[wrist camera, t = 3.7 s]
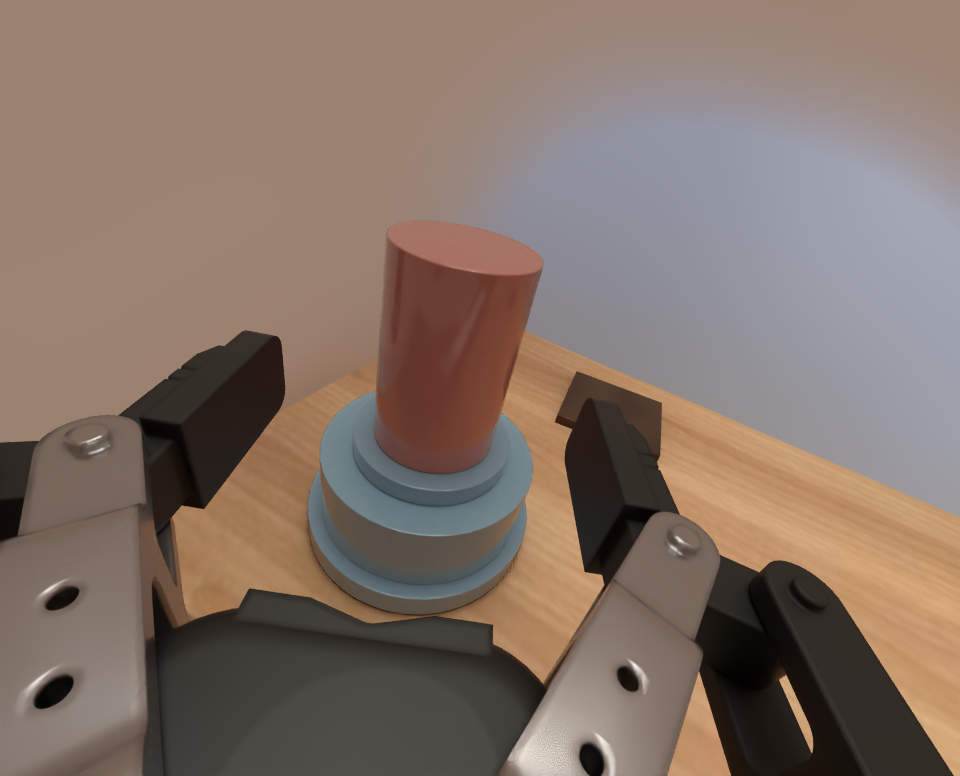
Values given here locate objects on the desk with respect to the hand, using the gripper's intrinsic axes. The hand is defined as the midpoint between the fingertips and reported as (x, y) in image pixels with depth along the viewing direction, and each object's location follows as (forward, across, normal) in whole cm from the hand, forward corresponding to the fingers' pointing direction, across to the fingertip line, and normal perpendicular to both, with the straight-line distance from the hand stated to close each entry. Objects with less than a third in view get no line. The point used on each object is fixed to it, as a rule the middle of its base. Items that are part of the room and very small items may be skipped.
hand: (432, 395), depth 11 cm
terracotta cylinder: (+8, 0, +8) cm, 11 cm away
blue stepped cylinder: (+8, 0, +15) cm, 17 cm away
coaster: (+22, -16, +15) cm, 31 cm away
